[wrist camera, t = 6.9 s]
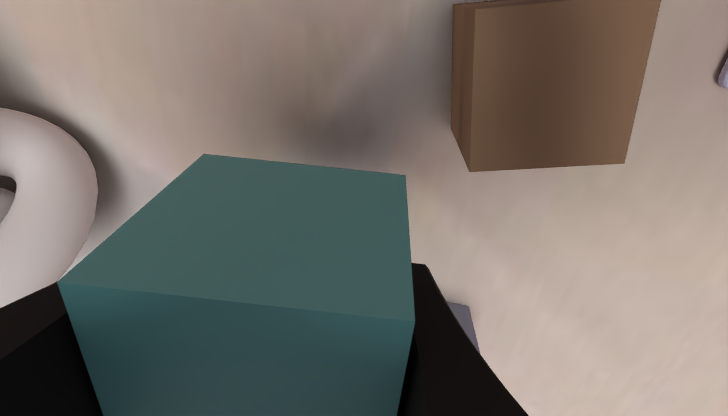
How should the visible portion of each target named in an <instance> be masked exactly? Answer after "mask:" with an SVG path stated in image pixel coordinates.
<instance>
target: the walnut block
mask: <svg viewBox="0 0 728 416" xmlns="http://www.w3.org/2000/svg"><path fill="white" fill-rule="evenodd" d="M660 2H661V0H496V1H485V2H475V3H464V4H453V29H452V109H451V130H452V132H453V134H454V137H455V139H456V141H457V144H458V146H459V148H460V151H461V153H462V155H463V158H464V160H465V163H466V165H467V167H468V170H469V172H478V171H496V170H514V169H532V168H550V167H568V166H587V165H605V164H623V163H625V159H626V154H627V150H628V145H629V141H630V136H631V132H632V127H633V123H634V118H635V114H636V109H637V105H638V101H639V96H640V92H641V87H642V83H643V78H644V74H645V69H646V65H647V60H648V56H649V51H650V47H651V43H652V38H653V34H654V29H655V25H656V20H657V16H658V11H659V7H660Z"/></svg>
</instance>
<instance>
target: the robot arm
mask: <svg viewBox="0 0 728 416" xmlns="http://www.w3.org/2000/svg"><path fill="white" fill-rule="evenodd" d="M718 82H719V85H720V86H721V87H723V88H726V89H728V58H727V60H726V62H725V64H724V66H723V68H722V70H721V73H720V75H719V78H718ZM411 266H412V281H413V296H414V311H415V325H414V330H413V335H412V340H411V345H410V351H409V356H408V361H407V366H406V371H405V376H404V381H403V386H402V391H401V396H400V401H399V406H398V412H397V416H528V414H527V413H526V412H525V411H524V410H523V408H522V407H521V406H520V405H519V404H518V402H517V401H516V400H515V399H514V398H513V397H512V395H511V394H510V393H509V392H508V390H507V389H506V388H505V387H504V385H503V384H502V383H501V382H500V380H499V379H498V378H497V376H496V375H495V374H494V372H493V371H492V370H491V368H490V367H489V366H488V364H487V363H486V362H485V360H484V359H483V357H482V356H481V355H480V353H479V352H478V351H477V349H476V348H475V346H474V345H473V343H472V342H471V340H470V339H469V337H468V336H467V334H466V333H465V331H464V330H463V328H462V326H461V325H460V323H459V322H458V320H457V319H456V317H455V316H454V314H453V312H452V311H451V309H450V307H449V306H448V304H447V302H446V300H445V299H444V297H443V295H442V293H441V292H440V290H439V288H438V286H437V284H436V282H435V280H434V278H433V276H432V275H431V272H430V270H429V269H428V267H427V266H426V265H425V264H416V263H411ZM57 282H58V281H57ZM57 282H55V283H53V284H51V285H49V286H47V287H45V288H42V289H40V290H38V291H36V292H34V293H32V294H29V295H27V296H25V297H23V298H21V299H19V300H17V301H14V302H12V303H10V304H8V305H6V306H4V307H1V308H0V416H103V413H102V410H101V407H100V404H99V401H98V399H97V396H96V393H95V390H94V387H93V384H92V381H91V378H90V376H89V373H88V370H87V367H86V364H85V361H84V358H83V356H82V353H81V350H80V347H79V344H78V341H77V338H76V335H75V333H74V330H73V327H72V324H71V321H70V318H69V315H68V312H67V310H66V307H65V304H64V301H63V298H62V295H61V292H60V289H59V287H58V284H57Z"/></svg>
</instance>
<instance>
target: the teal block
mask: <svg viewBox="0 0 728 416" xmlns="http://www.w3.org/2000/svg"><path fill="white" fill-rule="evenodd" d="M57 284H58V287H59V289H60V292H61V295H62V298H63V301H64V304H65V307H66V310H67V312H68V315H69V318H70V321H71V324H72V327H73V330H74V333H75V335H76V338H77V341H78V344H79V347H80V350H81V353H82V356H83V358H84V361H85V364H86V367H87V370H88V373H89V376H90V378H91V381H92V384H93V387H94V390H95V393H96V396H97V399H98V401H99V404H100V407H101V410H102V413H103V416H397V412H398V406H399V401H400V396H401V391H402V386H403V381H404V376H405V371H406V366H407V361H408V356H409V351H410V345H411V340H412V335H413V330H414V325H415V311H414V296H413V281H412V266H411V251H410V236H409V221H408V206H407V191H406V176H405V175H400V174H390V173H381V172H371V171H362V170H352V169H343V168H333V167H323V166H314V165H304V164H295V163H285V162H276V161H266V160H256V159H247V158H237V157H228V156H218V155H209V154H203V155H202V156H201V157H200V158H199V159H198V160H196V161H195V162H194V163H193V164H192V165H191V166H190V167H188V168H187V169H186V170H185V171H184V172H183V173H182V174H180V175H179V176H178V177H177V178H176V179H175V180H174V181H172V182H171V183H170V184H169V185H168V186H167V187H166V188H164V189H163V190H162V191H161V192H160V193H159V194H157V195H156V196H155V197H154V198H153V199H152V200H151V201H149V202H148V203H147V204H146V205H145V206H144V207H143V208H141V209H140V210H139V211H138V212H137V213H136V214H135V215H133V216H132V217H131V218H130V219H129V220H128V221H127V222H125V223H124V224H123V225H122V226H121V227H120V228H119V229H117V230H116V231H115V232H114V233H113V234H112V235H111V236H109V237H108V238H107V239H106V240H105V241H104V242H103V243H101V244H100V245H99V246H98V247H97V248H96V249H94V250H93V251H92V252H91V253H90V254H89V255H88V256H86V257H85V258H84V259H83V260H82V261H81V262H80V263H78V264H77V265H76V266H75V267H74V268H73V269H72V270H70V271H69V272H68V273H67V274H66V275H65V276H64V277H62V278H61V279H60V280H59V281H58V282H57Z"/></svg>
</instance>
